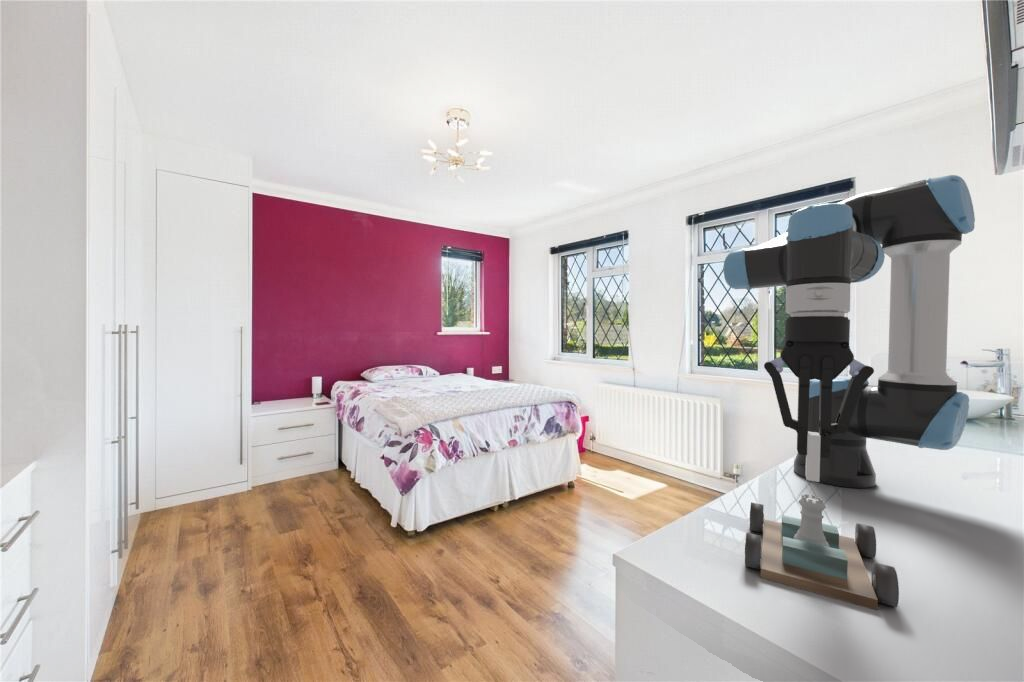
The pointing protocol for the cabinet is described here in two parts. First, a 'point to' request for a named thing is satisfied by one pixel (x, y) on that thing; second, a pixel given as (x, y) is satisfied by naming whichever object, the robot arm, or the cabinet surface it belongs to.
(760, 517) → the chassis
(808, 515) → the rook chess piece
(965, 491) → the cabinet surface
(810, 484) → the cabinet surface
